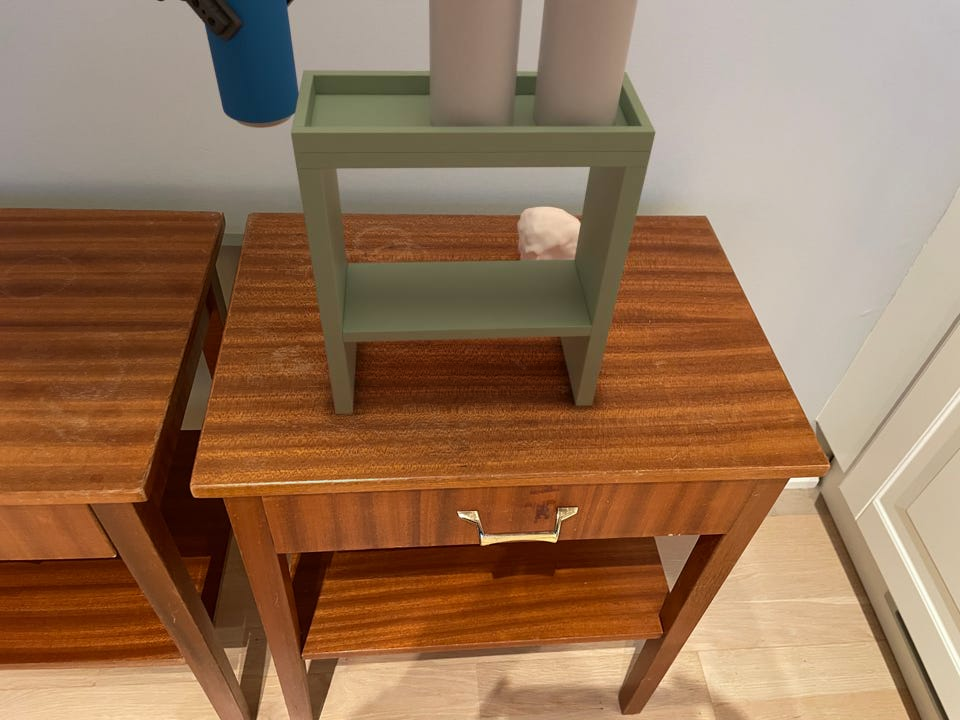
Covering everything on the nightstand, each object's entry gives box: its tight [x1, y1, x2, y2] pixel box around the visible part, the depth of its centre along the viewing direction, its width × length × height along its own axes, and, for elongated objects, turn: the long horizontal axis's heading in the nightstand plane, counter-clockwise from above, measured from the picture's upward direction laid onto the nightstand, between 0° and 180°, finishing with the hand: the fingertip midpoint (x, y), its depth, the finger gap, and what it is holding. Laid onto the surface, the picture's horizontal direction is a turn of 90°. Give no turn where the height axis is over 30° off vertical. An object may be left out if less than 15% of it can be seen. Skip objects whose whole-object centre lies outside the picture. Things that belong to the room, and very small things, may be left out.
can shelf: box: [290, 0, 656, 170], centre depth 49 cm, size 24×9×13 cm, turn 94°
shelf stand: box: [296, 166, 648, 415], centre depth 63 cm, size 24×9×26 cm, turn 94°
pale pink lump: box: [516, 206, 581, 260], centre depth 81 cm, size 6×8×12 cm
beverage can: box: [204, 0, 299, 129], centre depth 59 cm, size 6×6×12 cm
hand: (262, 17), depth 57 cm, fingers closed on beverage can, 6 cm apart
